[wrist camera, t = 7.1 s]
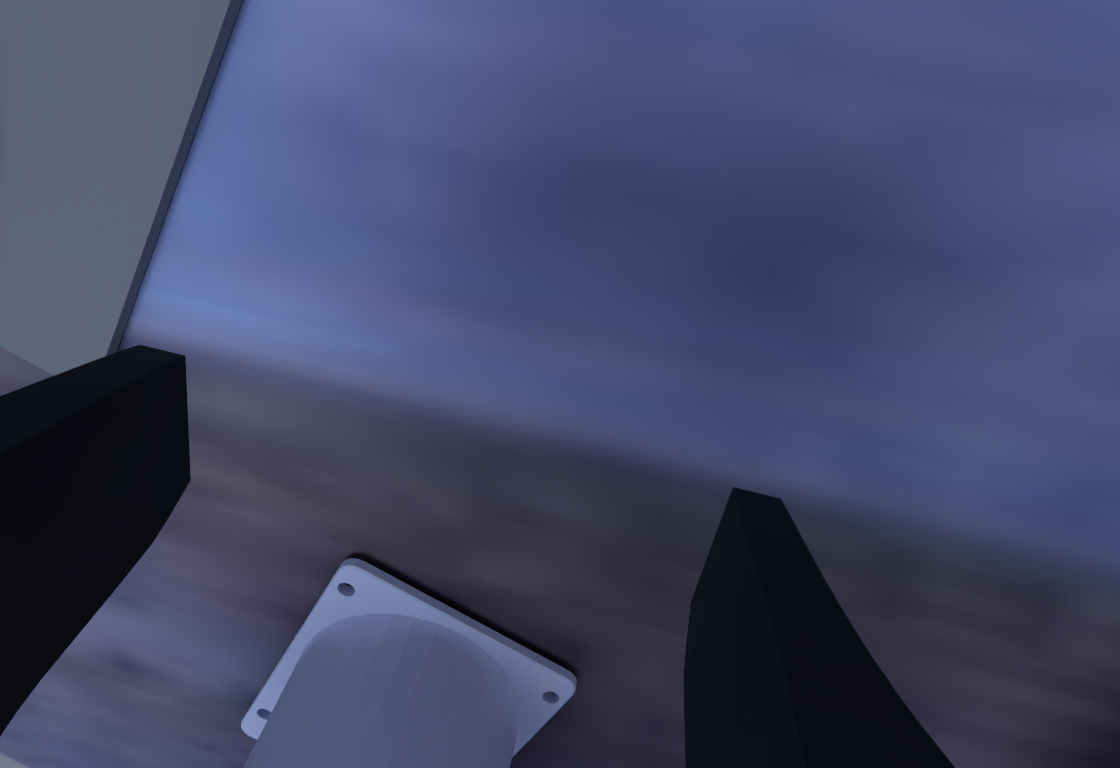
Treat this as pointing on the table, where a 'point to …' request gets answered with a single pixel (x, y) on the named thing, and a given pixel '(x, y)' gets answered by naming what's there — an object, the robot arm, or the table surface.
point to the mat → (92, 159)
